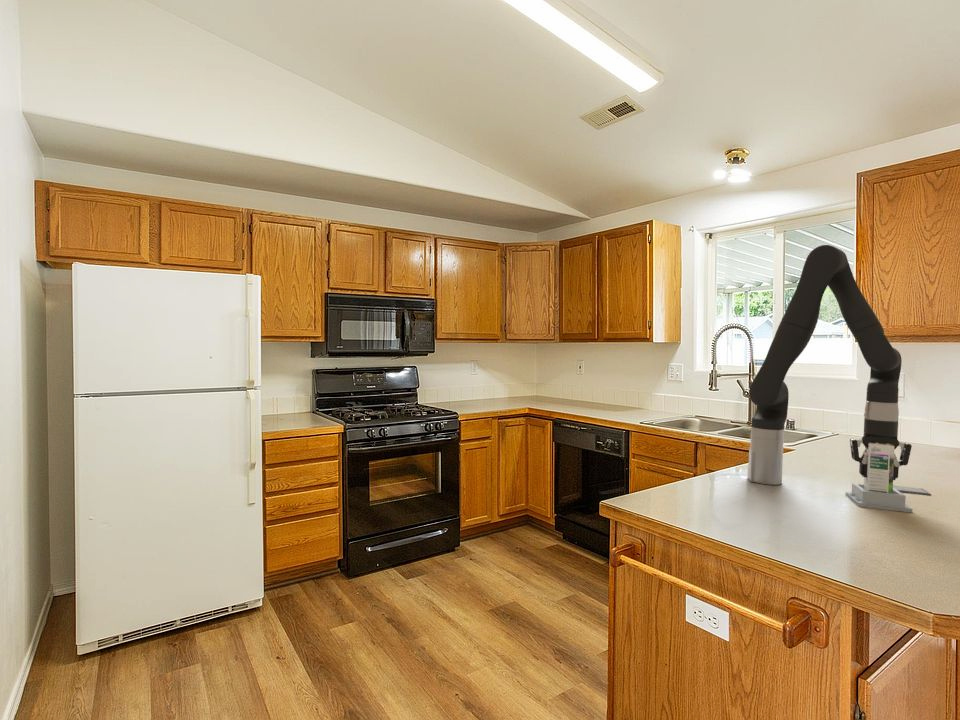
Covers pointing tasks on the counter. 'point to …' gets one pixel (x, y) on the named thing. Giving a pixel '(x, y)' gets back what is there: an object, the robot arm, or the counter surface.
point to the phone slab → (911, 490)
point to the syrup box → (879, 468)
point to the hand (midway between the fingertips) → (878, 478)
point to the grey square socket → (878, 499)
